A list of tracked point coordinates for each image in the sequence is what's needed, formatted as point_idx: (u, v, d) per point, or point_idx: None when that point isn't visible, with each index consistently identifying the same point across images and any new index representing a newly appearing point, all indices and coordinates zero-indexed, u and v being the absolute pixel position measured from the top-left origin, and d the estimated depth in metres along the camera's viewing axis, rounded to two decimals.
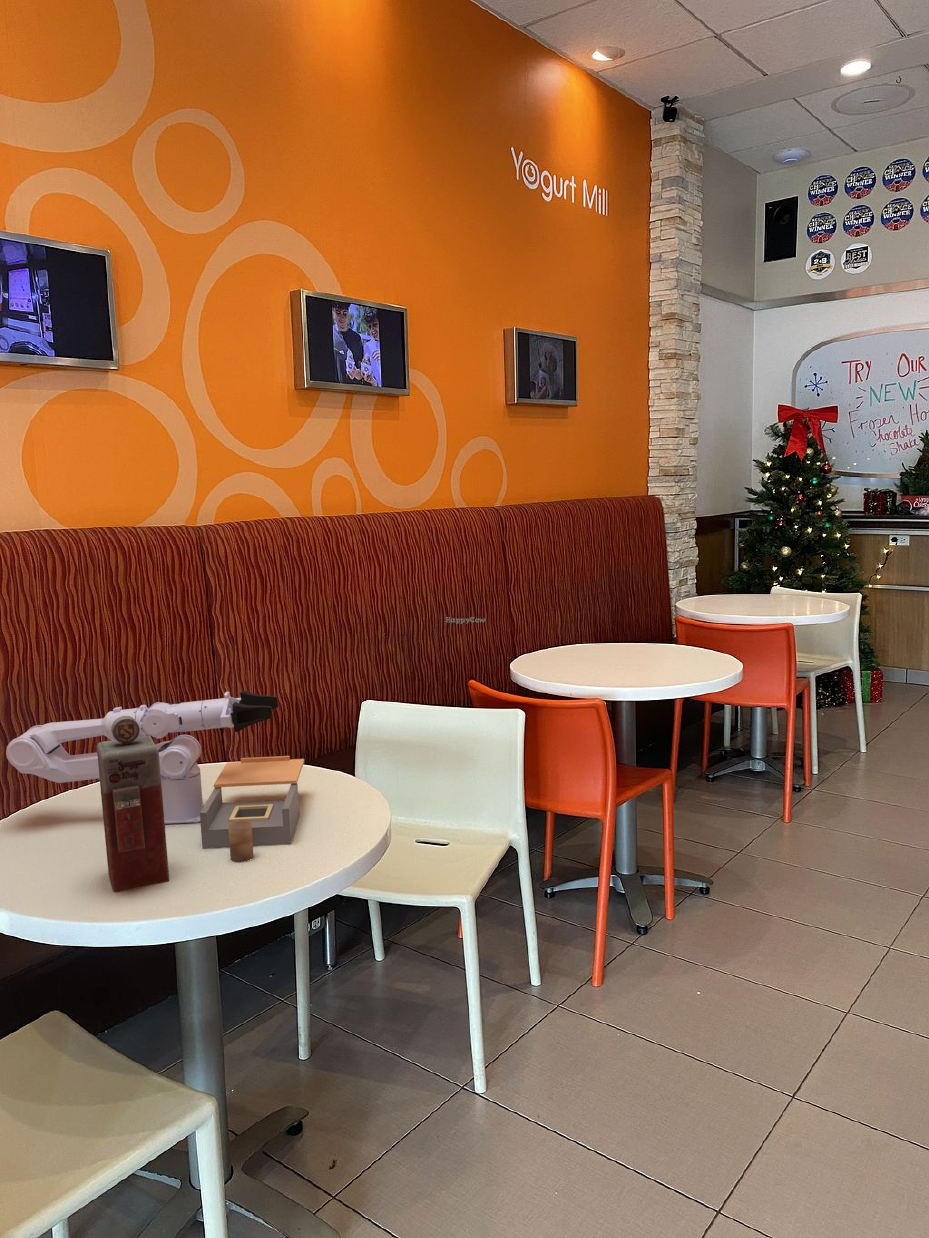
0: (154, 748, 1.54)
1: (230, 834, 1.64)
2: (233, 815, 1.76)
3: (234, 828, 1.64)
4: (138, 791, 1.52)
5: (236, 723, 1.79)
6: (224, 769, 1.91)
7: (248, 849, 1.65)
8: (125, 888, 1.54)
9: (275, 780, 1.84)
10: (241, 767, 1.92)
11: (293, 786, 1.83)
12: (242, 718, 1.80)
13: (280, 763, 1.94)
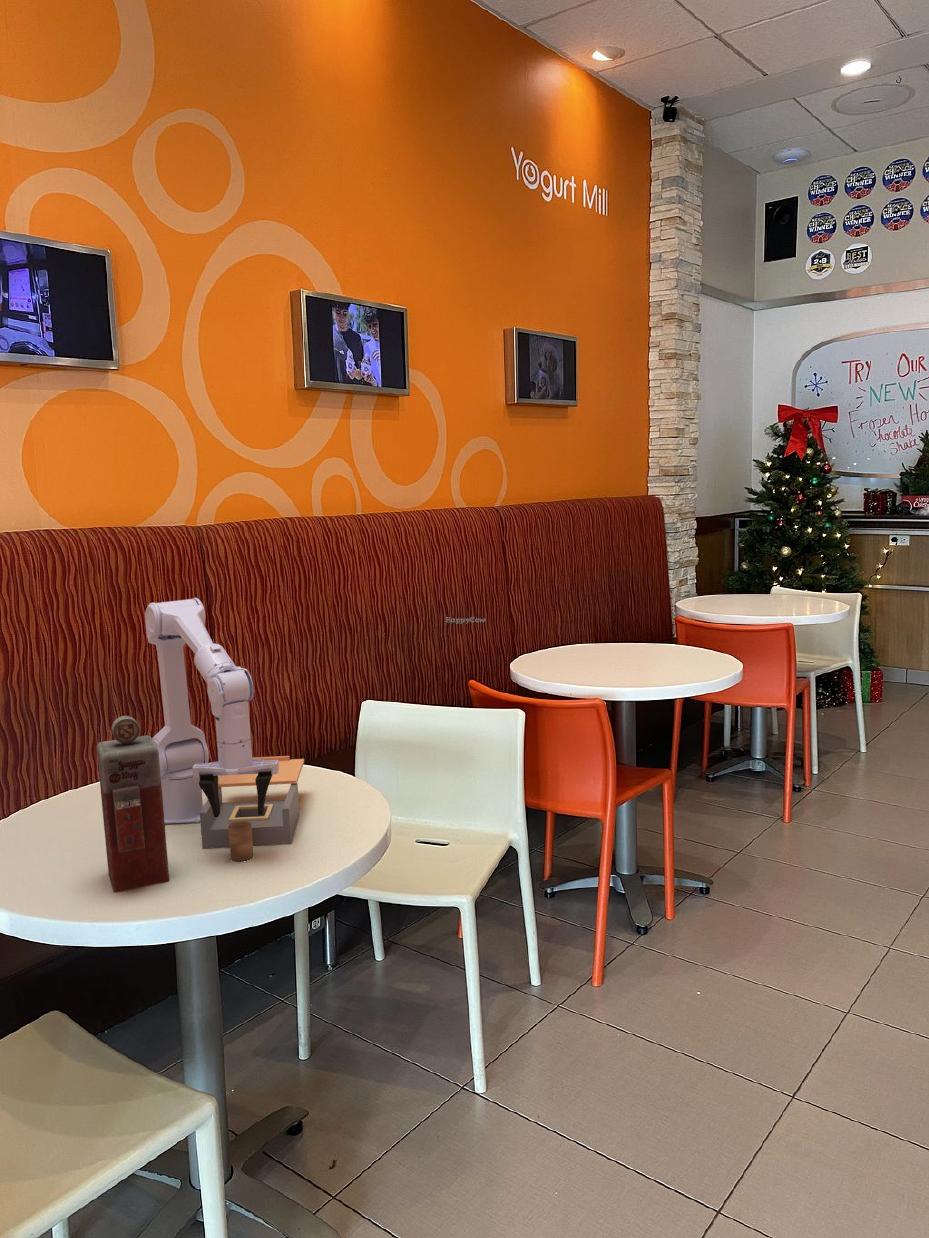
0: (154, 748, 1.54)
1: (230, 834, 1.64)
2: (233, 815, 1.76)
3: (234, 828, 1.64)
4: (138, 791, 1.52)
5: None
6: None
7: (248, 848, 1.65)
8: (125, 888, 1.54)
9: (275, 780, 1.84)
10: None
11: (293, 786, 1.83)
12: None
13: (280, 763, 1.94)
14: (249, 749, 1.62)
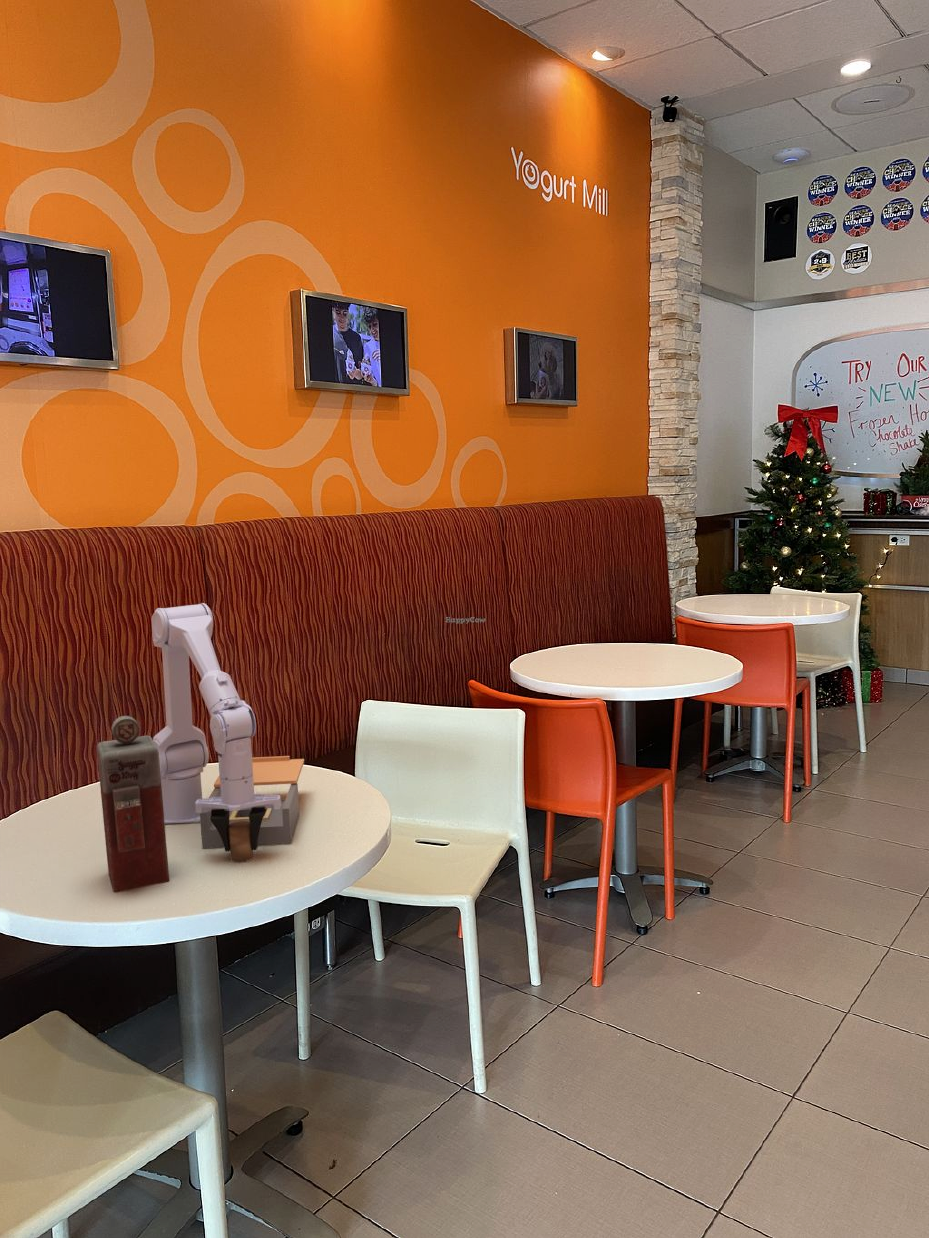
0: (154, 748, 1.54)
1: (230, 834, 1.64)
2: (233, 815, 1.76)
3: (234, 828, 1.64)
4: (138, 791, 1.52)
5: None
6: None
7: (248, 848, 1.65)
8: (125, 888, 1.54)
9: (275, 780, 1.84)
10: None
11: (293, 786, 1.83)
12: None
13: (280, 763, 1.94)
14: (251, 785, 1.63)
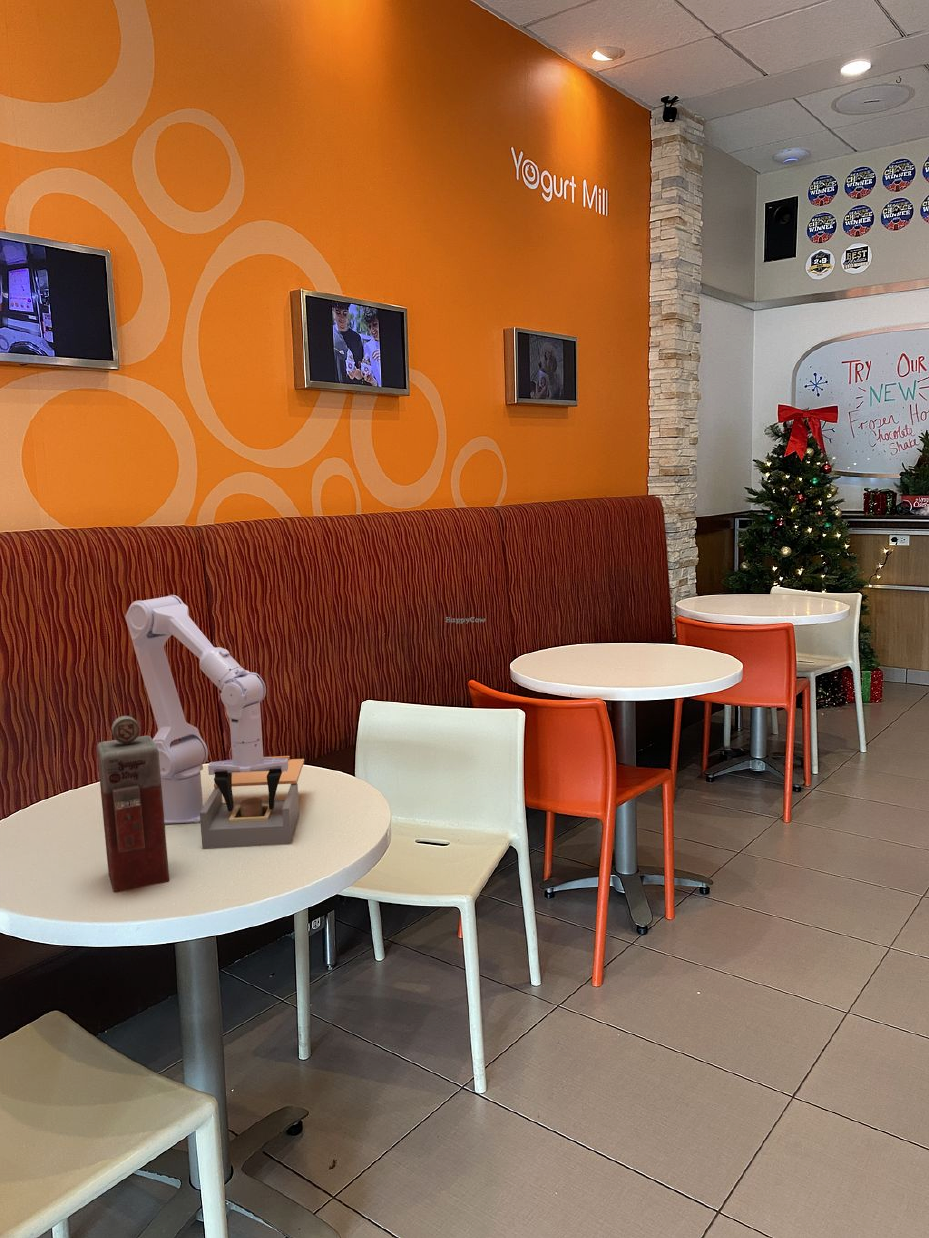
0: (154, 748, 1.54)
1: (242, 810, 1.76)
2: (233, 815, 1.76)
3: (245, 804, 1.76)
4: (138, 791, 1.52)
5: None
6: None
7: None
8: (125, 888, 1.54)
9: None
10: None
11: (293, 786, 1.83)
12: None
13: None
14: (261, 748, 1.75)
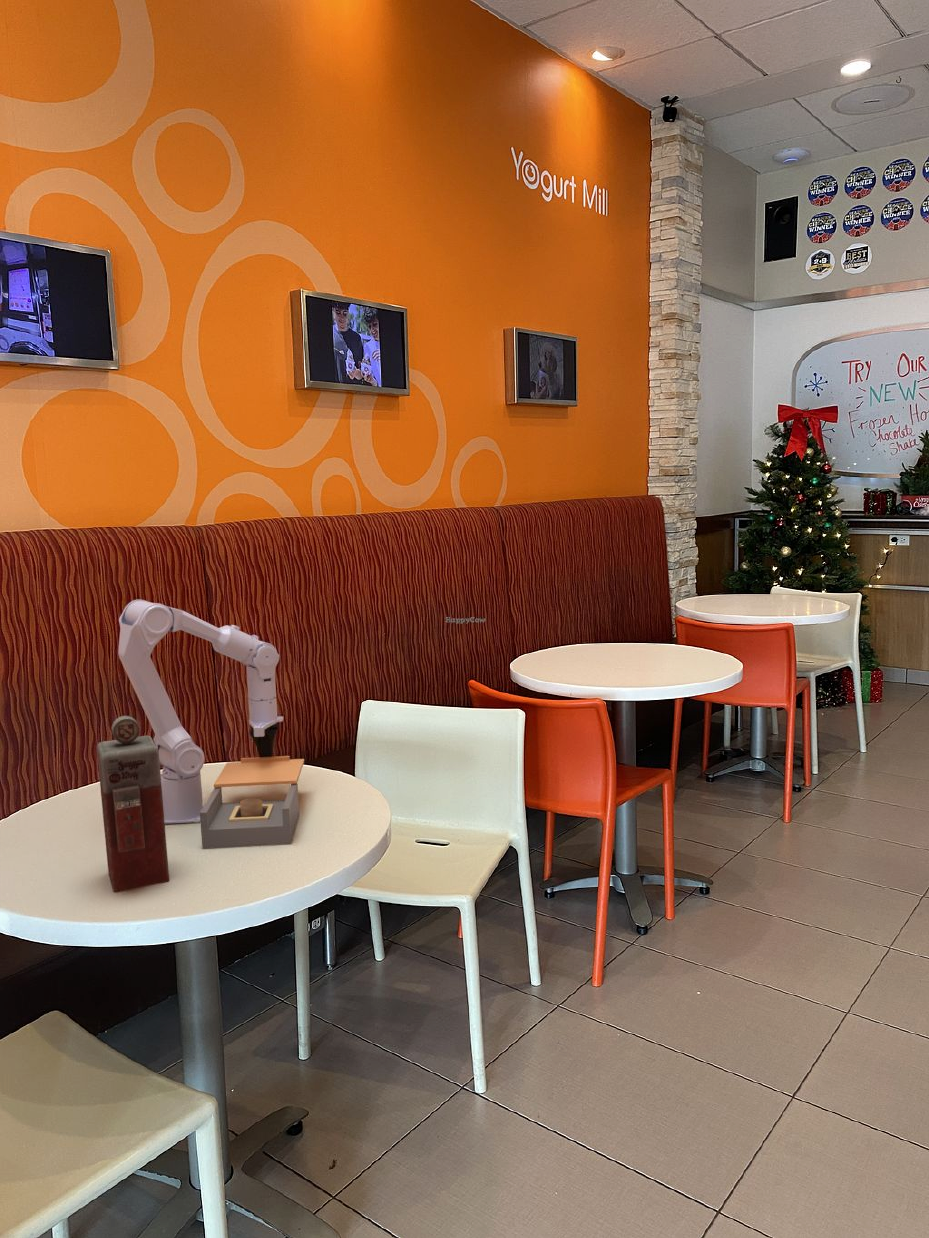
0: (154, 748, 1.54)
1: (242, 810, 1.76)
2: (233, 815, 1.76)
3: (245, 804, 1.76)
4: (138, 791, 1.52)
5: None
6: (224, 769, 1.91)
7: None
8: (125, 888, 1.54)
9: (275, 780, 1.84)
10: (241, 767, 1.92)
11: (293, 786, 1.83)
12: None
13: (280, 763, 1.94)
14: None
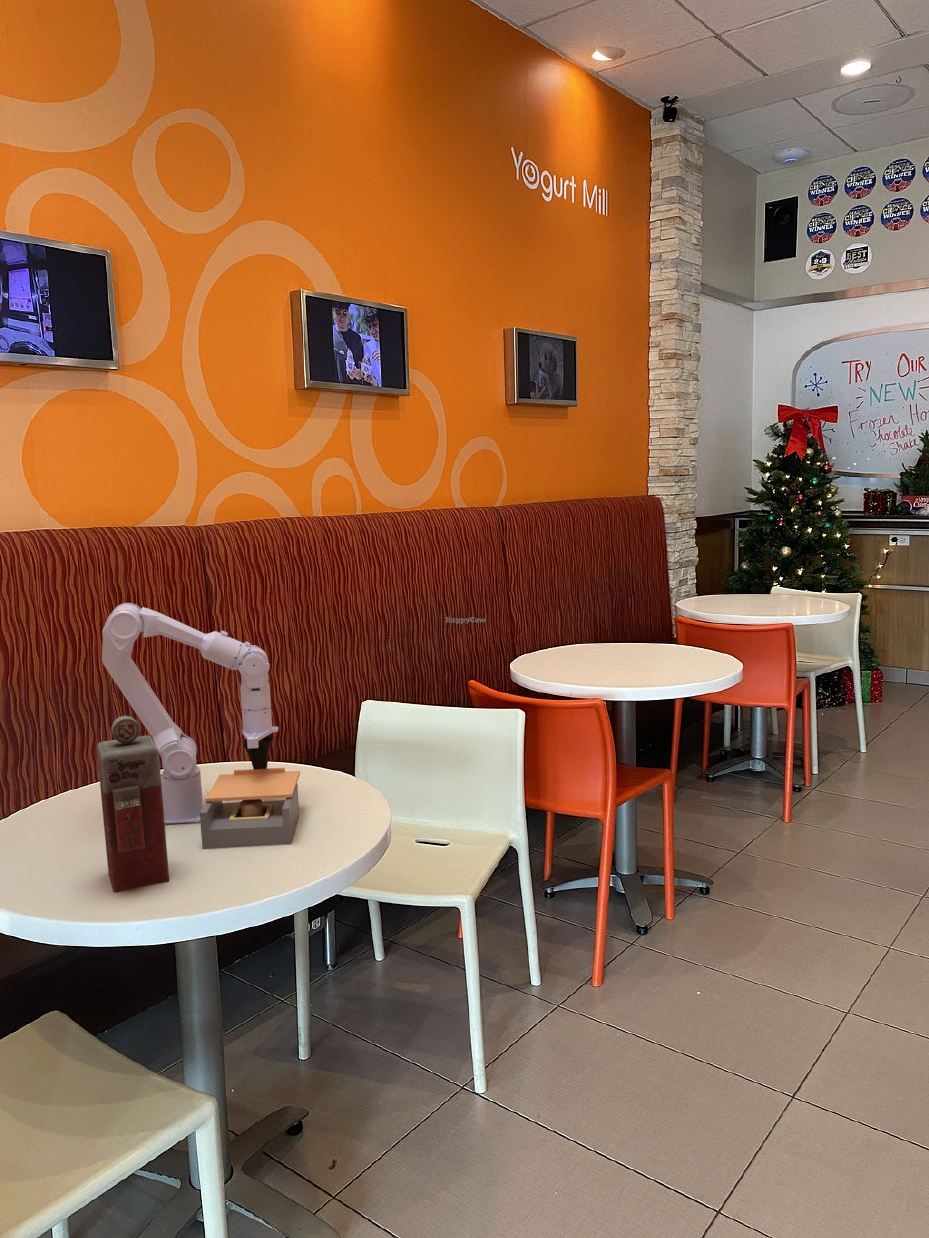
0: (154, 748, 1.54)
1: (242, 810, 1.76)
2: (233, 815, 1.76)
3: (245, 804, 1.76)
4: (138, 791, 1.52)
5: None
6: (216, 782, 1.84)
7: None
8: (125, 888, 1.54)
9: (269, 794, 1.76)
10: (234, 780, 1.84)
11: None
12: None
13: (275, 775, 1.86)
14: None
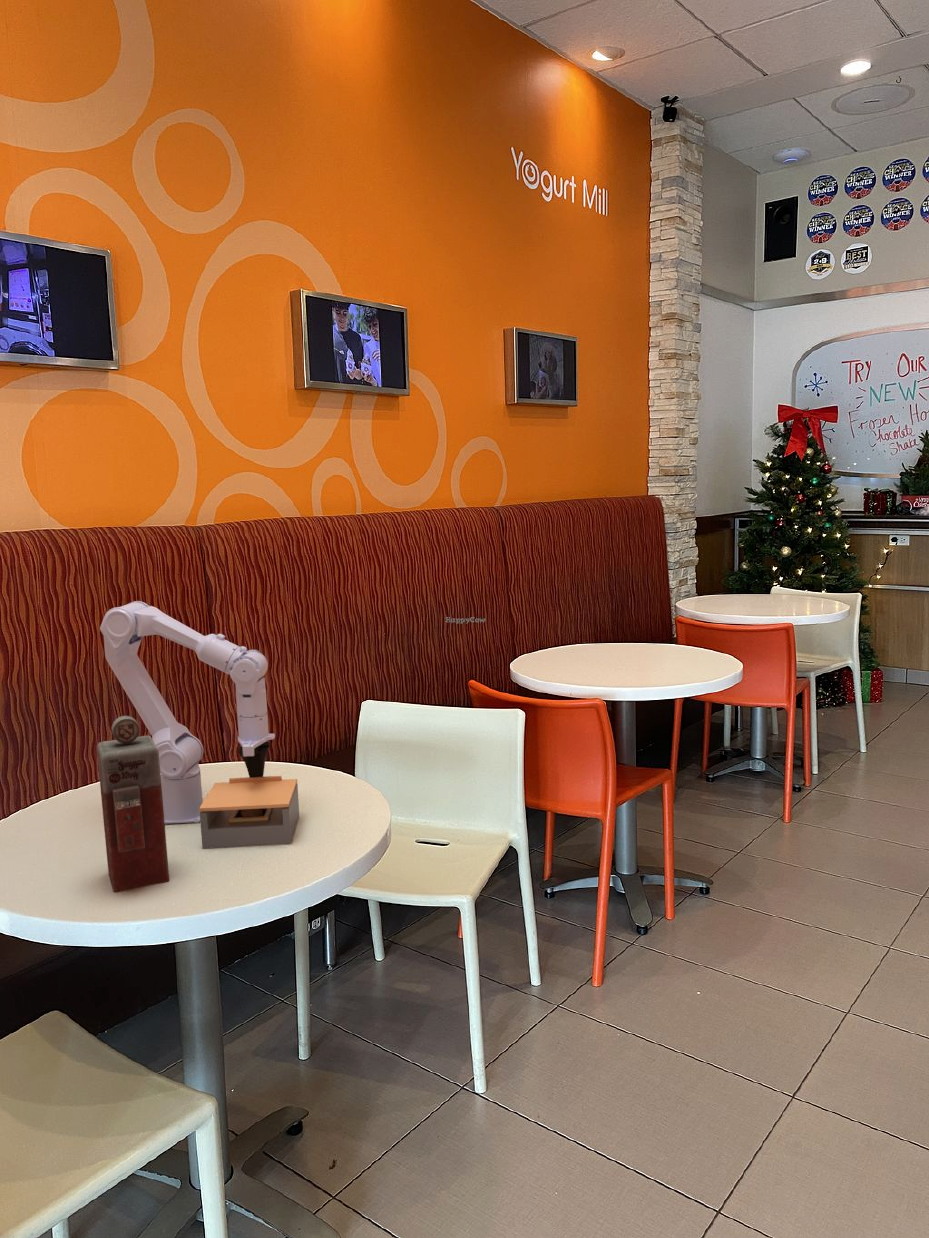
0: (154, 748, 1.54)
1: (242, 810, 1.76)
2: (233, 815, 1.76)
3: None
4: (138, 791, 1.52)
5: None
6: (211, 790, 1.79)
7: None
8: (125, 888, 1.54)
9: (265, 803, 1.71)
10: (230, 789, 1.79)
11: None
12: None
13: (271, 784, 1.81)
14: None
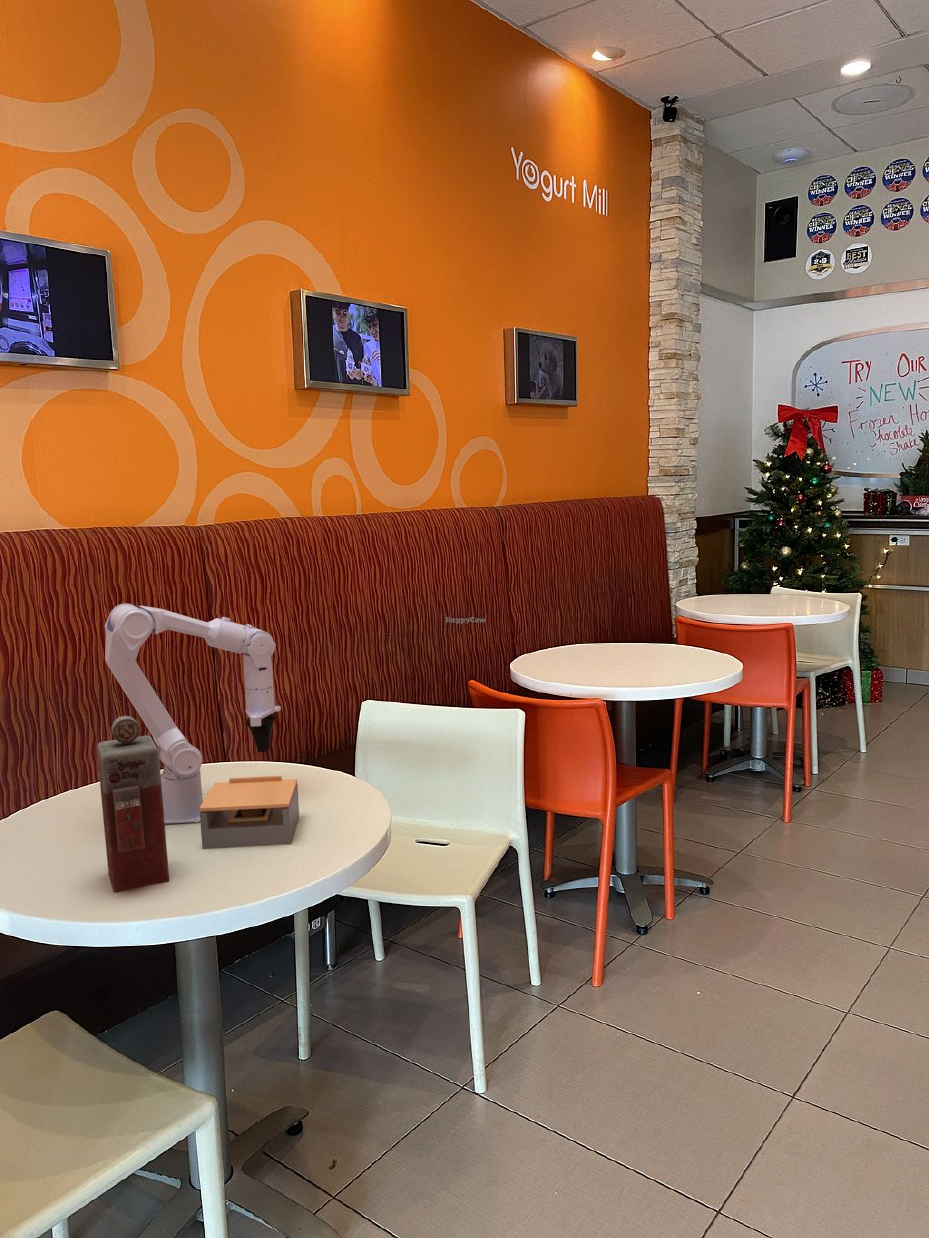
0: (154, 748, 1.54)
1: (242, 810, 1.76)
2: (233, 815, 1.76)
3: None
4: (138, 791, 1.52)
5: None
6: (211, 790, 1.79)
7: None
8: (125, 888, 1.54)
9: (265, 803, 1.71)
10: (230, 789, 1.79)
11: None
12: (258, 725, 1.92)
13: (271, 784, 1.81)
14: None
